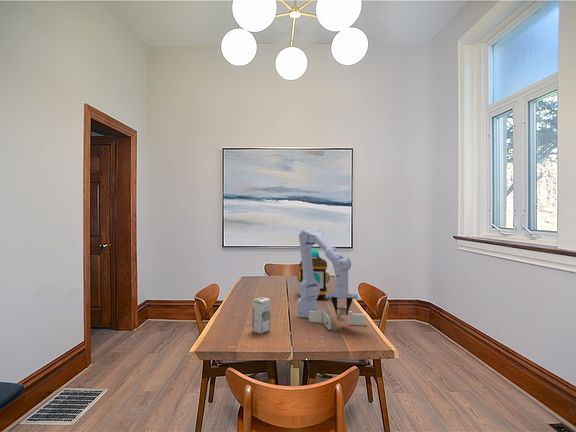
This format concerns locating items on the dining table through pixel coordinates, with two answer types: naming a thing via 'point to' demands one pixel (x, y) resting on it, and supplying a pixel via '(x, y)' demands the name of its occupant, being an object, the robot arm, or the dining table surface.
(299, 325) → the dining table surface
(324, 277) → the decorative lantern
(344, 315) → the birch block
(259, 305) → the syrup box
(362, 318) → the wall frame
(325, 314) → the door
